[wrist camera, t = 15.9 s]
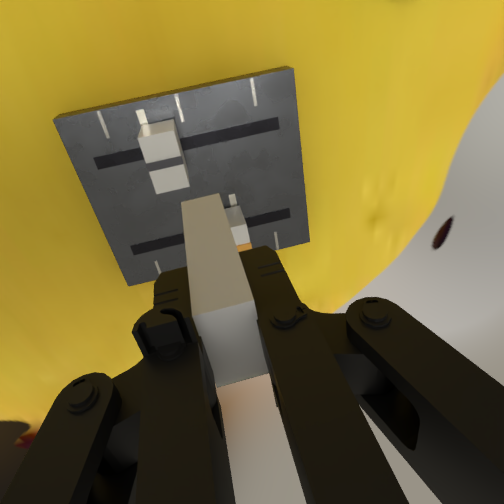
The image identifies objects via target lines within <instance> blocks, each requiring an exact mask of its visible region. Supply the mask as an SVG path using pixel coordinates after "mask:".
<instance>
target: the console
mask: <svg viewBox="0 0 504 504" xmlns="http://www.w3.org/2000/svg"><path fill="white" fill-rule="evenodd" d="M171 119H174V122H175V125H176V129H177V132H178V136H179V140H180V143H181V147H182V150H183V154H184V158H185V161H186V165H187V169H188V175H189V184H190V187H186V188H182V189H177V190H173V191H169V192H164V193H160V194H156V191H155V188H154V185H153V182H152V180H151V177H150V174H149V172H148V170H147V168H146V165H145V164H146V162H145V159H144V156H143V153H142V150H141V147H140V144H139V141H138V135H139V132H140V129H141V126H143V125H148V124H153V123H157V122H162V121H166V120H171ZM53 122H54V124H55V126H56V128H57V131H58V133H59V135H60V137H61V139H62V142H63V144H64V146H65V148H66V150H67V153H68V155H69V157H70V159H71V161H72V164H73V166H74V168H75V170H76V172H77V175H78V177H79V179H80V181H81V183H82V186H83V188H84V190H85V192H86V194H87V197H88V199H89V201H90V203H91V205H92V208H93V210H94V212H95V214H96V216H97V219H98V221H99V223H100V225H101V227H102V230H103V232H104V234H105V236H106V238H107V241H108V243H109V245H110V247H111V249H112V252H113V254H114V256H115V258H116V260H117V263H118V265H119V267H120V269H121V271H122V274H123V276H124V278H125V280H126V282H127V285H128V286H132V285H137V284H141V283H145V282H149V281H153V280H157V278H158V277H159V275H160V273H162V272H166V271H170V270H174V269H178V268H182V267H186V266H187V258H186V248H185V238H184V228H183V218H182V208H181V202H184V201H188V200H192V199H196V198H201V197H205V196H209V195H213V194H217V193H219V195H220V198H221V201H222V204H223V207H224V209H226V208H231V207H235V206H239V205H240V208H241V211H242V213H243V216H244V219H245V221H246V224H247V229H248V234H249V239H250V242H251V246H252V249H253V248H257V247H261V246H265V245H266V246H268V247H269V248H271V249H272V250H274V251H275V250H279V249H283V248H287V247H291V246H295V245H299V244H303V243H307V242H310V237H309V226H308V216H307V205H306V195H305V184H304V174H303V163H302V152H301V142H300V131H299V121H298V110H297V100H296V89H295V79H294V68H291V67H288V66H284V67H279V68H274V69H270V70H265V71H260V72H256V73H251V74H246V75H242V76H237V77H232V78H227V79H223V80H218V81H213V82H209V83H204V84H199V85H195V86H190V87H185V88H180V89H176V90H171V91H166V92H162V93H157V94H152V95H148V96H143V97H138V98H134V99H129V100H124V101H119V102H115V103H110V104H105V105H101V106H96V107H91V108H87V109H82V110H77V111H72V112H68V113H63V114H59V115H58V116H57V117H55V118H54V119H53Z"/></svg>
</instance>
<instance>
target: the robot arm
mask: <svg viewBox="0 0 504 504" xmlns="http://www.w3.org/2000/svg"><path fill="white" fill-rule="evenodd" d="M181 208H182V218H183V228H184V238H185V248H186V258H187V266H186V267H182V268H178V269H174V270H170V271H166V272H162V273H160V275H159V277H158V278H157V280H156V282H155V283H154V302H153V304H154V306H153V309H151V310H149V311H148V312H146V313H145V314H144V315H142V316H141V317H140V318H139V319H138V320H137V322H136V323H135V324H134V327H133V330H132V334H133V336H134V338H135V340H136V342H137V344H138V346H139V348H140V350H141V352H142V354H143V356H144V358H143V359H142V360H141V361H140V362H139V363H138V364H136V365H135V366H133V367H132V368H130V369H129V370H127V371H125V372H123V373H122V374H120V375H118V376H116V377H114V378H112V379H111V378H110V377H109V376H107V375H106V374H104V373H96V372H94V373H90V374H86V375H83V376H81V377H79V378H77V379H75V380H73V381H72V382H71V383H70V384H68V385H67V386H66V387H65V388H64V389H63V390H62V391H61V392H60V394H59V395H58V396H57V398H56V399H55V401H54V403H53V405H52V406H51V408H50V410H49V412H48V414H47V416H46V418H45V420H44V422H43V423H42V425H41V427H40V429H39V431H38V433H37V435H36V437H35V439H34V440H33V442H32V444H31V446H30V448H29V450H28V452H27V454H26V456H25V457H24V460H23V461H22V463H21V465H20V467H19V469H18V471H17V472H16V474H15V476H14V478H13V480H12V482H11V484H10V486H9V487H8V489H7V491H6V493H5V495H4V497H3V499H2V501H1V503H0V504H236V503H235V496H234V490H233V483H232V477H231V470H230V463H229V457H228V450H227V444H226V438H225V431H224V424H223V418H222V412H221V405H220V403H219V400H218V397H217V394H216V387H215V383H216V386H217V387H221V386H225V385H228V384H232V383H236V382H239V381H242V380H246V379H250V378H253V377H257V376H260V375H264V374H268V373H269V374H270V378H271V382H272V387H273V392H274V397H275V401H276V406H277V407H278V408H279V411H280V415H281V418H282V422H283V425H284V428H285V432H286V435H287V439H288V442H289V445H290V449H291V452H292V456H293V459H294V462H295V466H296V469H297V473H298V476H299V479H300V483H301V486H302V489H303V493H304V496H305V500H306V503H307V504H409V502H408V500H407V498H406V497H405V495H404V493H403V490H402V489H401V487H400V485H399V483H398V481H397V479H396V477H395V475H394V473H393V471H392V469H391V467H390V465H389V463H388V461H387V459H386V457H385V455H384V453H383V451H382V449H381V448H380V445H379V443H378V442H377V440H376V438H375V436H374V434H373V432H372V430H371V428H370V426H369V424H368V422H367V420H366V418H365V416H364V414H363V412H362V410H361V408H362V409H363V410H364V411H365V412H366V413H367V415H368V416H369V417H370V418H371V419H372V421H373V422H374V423H375V424H376V425H377V427H378V428H379V429H380V430H381V431H382V433H384V435H385V436H386V437H387V439H388V440H389V441H390V442H391V443H392V444H393V446H394V447H395V448H396V449H397V450H398V452H399V453H400V454H401V455H402V456H403V458H404V459H405V460H406V461H407V462H408V463H409V465H410V466H411V467H412V468H413V469H414V471H415V472H416V473H417V474H418V475H419V477H420V478H421V479H422V480H423V481H424V482H425V484H426V485H427V486H428V487H429V488H430V490H431V491H432V492H433V493H434V494H435V495H436V497H437V498H438V499H439V500H440V502H441V503H442V504H504V386H503V385H501V384H500V383H499V382H497V381H496V380H495V379H494V378H492V377H491V376H489V375H488V374H487V373H486V372H484V371H483V370H482V369H480V368H479V367H478V366H477V365H475V364H474V363H473V362H471V361H470V360H469V359H467V358H466V357H465V356H464V355H462V354H461V353H459V352H458V351H457V350H456V349H454V348H453V347H452V346H450V345H449V344H448V343H446V342H445V341H444V340H442V339H441V338H440V337H438V336H437V335H436V334H435V333H433V332H432V331H431V330H429V329H428V328H427V327H426V326H424V325H423V324H422V323H420V322H419V321H418V320H416V319H415V318H414V317H412V316H411V315H410V314H409V313H407V312H406V311H405V310H403V309H402V308H400V307H399V306H398V305H397V304H395V303H393V302H391V301H389V300H387V299H383V298H379V297H365V298H362V299H359V300H356V301H355V302H353V303H352V304H351V305H349V307H348V310H347V311H346V313H339V314H329V313H320V312H316V311H313V310H311V309H309V308H308V307H307V306H306V305H305V304H303V303H302V302H301V301H300V300H299V298H298V296H297V294H296V292H295V290H294V287H293V285H292V283H291V281H290V279H289V277H288V275H287V273H286V271H285V270H284V267H283V265H282V263H281V261H280V259H279V257H278V255H277V253H276V252H275V251H274V250H272V249H271V248H269V247H268V246H266V245H265V246H261V247H257V248H253V249H249V250H245V251H241V252H238V250H237V247H236V244H235V241H234V237H233V234H232V231H231V228H230V225H229V222H228V219H227V216H226V213H225V210H224V207H223V204H222V201H221V198H220V195H219V193H217V194H213V195H209V196H205V197H201V198H196V199H192V200H188V201H184V202H181ZM359 405H360V406H361V408H360V406H359Z"/></svg>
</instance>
